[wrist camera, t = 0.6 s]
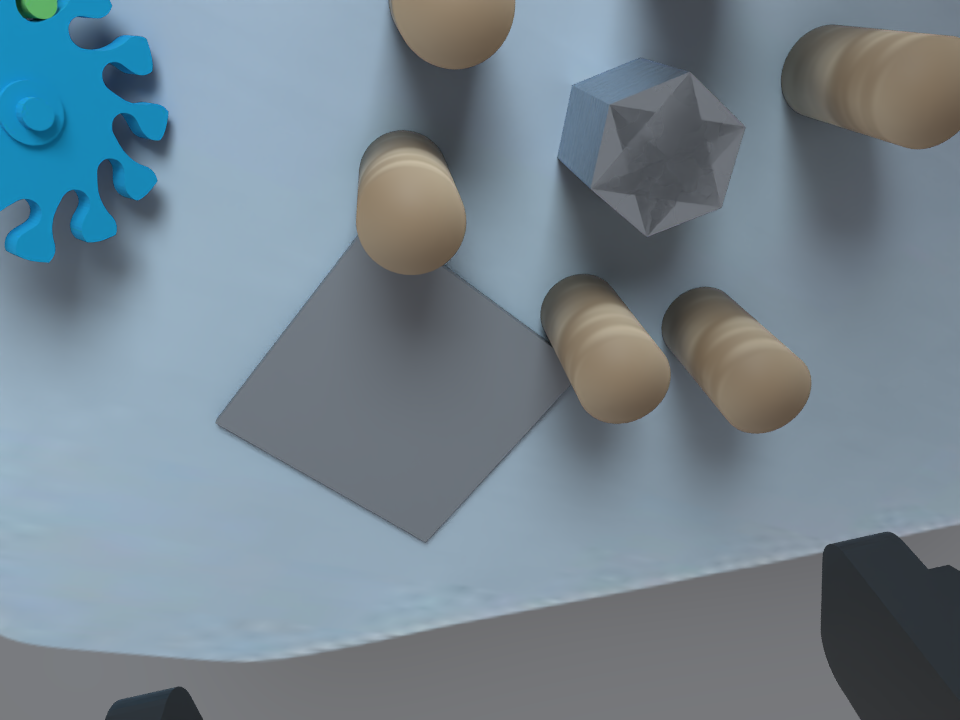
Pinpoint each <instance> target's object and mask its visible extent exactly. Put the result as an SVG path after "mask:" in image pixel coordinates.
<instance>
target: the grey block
mask: <svg viewBox="0 0 960 720" xmlns="http://www.w3.org/2000/svg"><path fill="white" fill-rule="evenodd" d="M744 130H745V126H744V125H743V124H742V123H741V122H740V121H739V120H738V119H737V118H736V117H735V116H734V115H733V114H732V113H731V112H730V111H729V110H728V109H727V108H726V107H725V106H724V105H723V104H722V103H721V102H720V101H719V100H718V99H717V98H716V97H715V96H714V95H713V94H712V93H711V92H710V91H709V90H708V89H707V88H706V87H705V86H704V85H703V84H702V83H701V82H700V81H699V80H698V79H697V78H696V77H695V76H694V75H693V74H692V73H691V72H689V71H686V70H682V69H679V68H675V67H672V66H668V65H665V64H661V63H658V62H654V61H651V60H647V59H644V58H638V59H635V60H633V61H630V62H628V63H625V64H623V65H620V66H618V67H616V68H613V69H611V70H608V71H606V72H603V73H601V74H598V75H596V76H593V77H591V78H589V79H586V80H584V81H581V82H579V83H576V84H574V85H572V89H571V94H570V98H569V103H568V108H567V113H566V118H565V123H564V128H563V132H562V137H561V142H560V147H559V152H558V157H557V158H558V159H559V160H560V161H561V162H563V163H564V164H565V165H566V166H567V167H568V168H569V169H570V170H571V171H572V172H573V173H574V174H575V175H576V176H577V177H578V178H579V179H581V180H582V181H583V182H584V183H585V184H586V185H587V186H588V187H589V188H590V189H591V190H592V191H593V192H595V193H596V194H597V195H598V196H599V197H600V198H602V199H603V200H604V201H605V202H606V203H607V204H609V205H610V206H611V207H612V208H613V209H614V210H616V211H617V212H618V213H619V214H620V215H621V216H623V217H624V218H625V219H626V220H627V221H628V222H630V223H631V224H632V225H633V226H634V227H635V228H637V229H638V230H639V231H640V232H641V233H642V234H644V235H645V236H646V237H649V236H651V235H654V234H656V233H659V232H661V231H664V230H666V229H669V228H671V227H674V226H677V225H679V224H682V223H684V222H687V221H689V220H692V219H694V218H697V217H699V216H702V215H704V214H707V213H709V212H712V211H714V210H717V209H719V208H721V207H722V204H723V201H724V197H725V194H726V191H727V187H728V184H729V181H730V177H731V174H732V171H733V167H734V164H735V161H736V157H737V154H738V151H739V147H740V144H741V140H742V137H743V134H744Z"/></svg>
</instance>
